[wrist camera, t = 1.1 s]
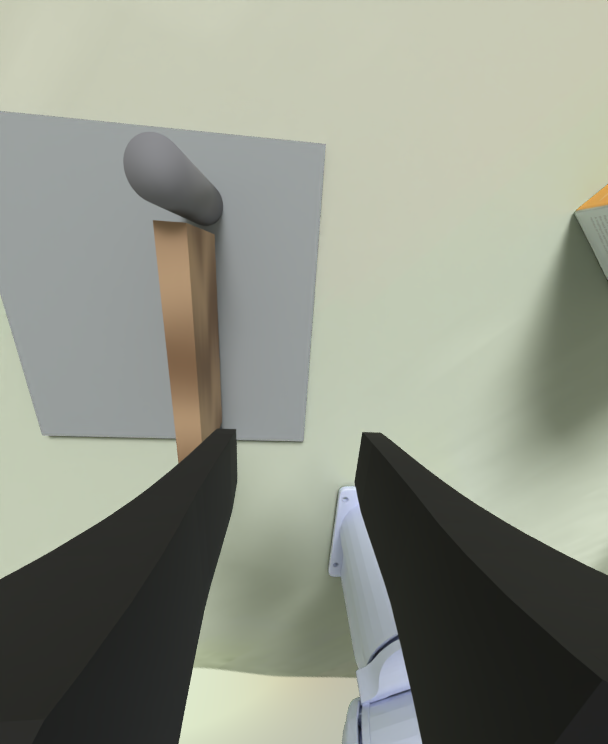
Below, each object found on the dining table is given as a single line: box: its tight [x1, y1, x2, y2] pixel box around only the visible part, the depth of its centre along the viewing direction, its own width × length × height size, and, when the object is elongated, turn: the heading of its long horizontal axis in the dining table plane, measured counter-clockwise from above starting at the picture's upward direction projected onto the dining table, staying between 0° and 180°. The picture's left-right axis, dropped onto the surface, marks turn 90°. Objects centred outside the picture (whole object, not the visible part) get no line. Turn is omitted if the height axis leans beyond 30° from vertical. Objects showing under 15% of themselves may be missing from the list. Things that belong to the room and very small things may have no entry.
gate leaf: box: [153, 220, 222, 463], centre depth 14 cm, size 11×1×4 cm, turn 176°
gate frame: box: [0, 111, 326, 441], centre depth 14 cm, size 17×17×6 cm
